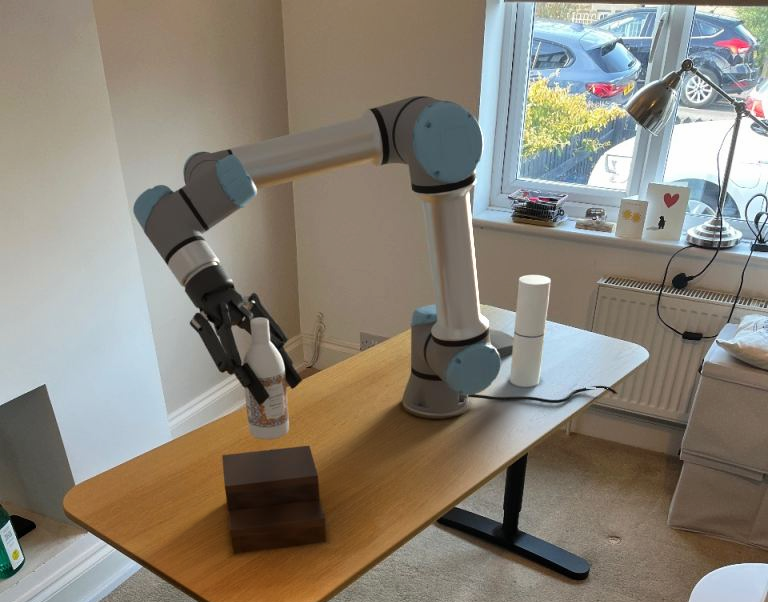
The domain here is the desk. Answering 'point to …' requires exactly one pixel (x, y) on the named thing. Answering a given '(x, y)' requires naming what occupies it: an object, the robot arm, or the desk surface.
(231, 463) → the stepped brown block
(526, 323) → the cylindrical container
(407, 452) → the desk surface
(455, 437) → the desk surface
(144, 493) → the desk surface
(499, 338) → the media streaming box
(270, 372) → the bath foam
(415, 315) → the robot arm
